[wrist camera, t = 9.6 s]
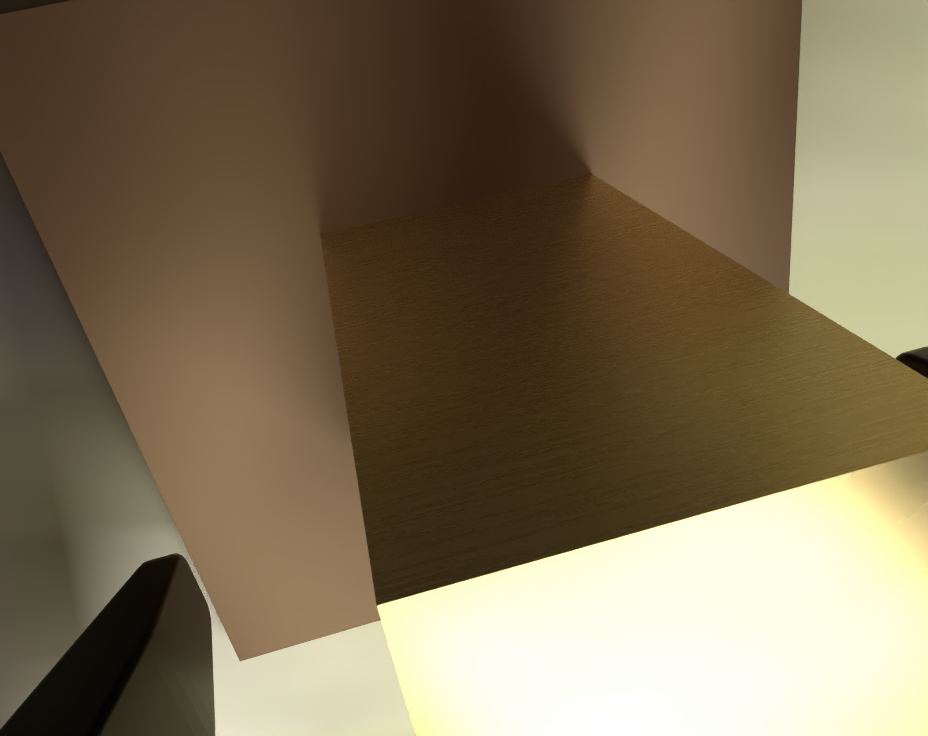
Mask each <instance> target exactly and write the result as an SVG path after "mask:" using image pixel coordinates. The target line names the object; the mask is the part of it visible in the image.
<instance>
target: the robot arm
mask: <svg viewBox="0 0 928 736" xmlns="http://www.w3.org/2000/svg"><path fill="white" fill-rule="evenodd" d="M896 360H898V361H900V362H901V363H903V364H905V365H906V366H908V367H909V368H911V369H913V370H914V371H916V372H918V373H919V374H921V375H923V376H924V377H926V378H928V347H923V348H919V349H915V350H912V351H908V352H904V353H902V354H900V355H899V356H897V357H896ZM0 736H215V711H214V684H213V656H212V629H211V617H210V612H209V608H208V605H207V602H206V600H205V598H204V596H203V594H202V592H201V589H200V587H199V585H198V583H197V581H196V579H195V577H194V575H193V573H192V571H191V569H190V566H189V564H188V562H187V561H186V559H185V558H184V557H183V556H182V555H180V554H177V553H175V554H171V555H167V556H164V557H160V558H156V559H153V560H149V561H146V562H144V563H143V564H142V565H141V566H140V567H139V568H138V569H137V570H136V571H135V572H134V574H133V575H132V576H131V577H130V578H129V579H128V581H127V582H126V583H125V584H124V585H123V586H122V588H121V589H120V590H119V591H118V592H117V593H116V595H115V596H114V597H113V598H112V599H111V601H110V602H109V603H108V604H107V605H106V606H105V608H104V609H103V610H102V611H101V612H100V613H99V615H98V616H97V617H96V618H95V619H94V620H93V622H92V623H91V624H90V625H89V626H88V627H87V629H86V630H85V631H84V632H83V633H82V634H81V636H80V637H79V638H78V639H77V640H76V641H75V643H74V644H73V645H72V646H71V647H70V648H69V650H68V651H67V652H66V653H65V654H64V655H63V657H62V658H61V659H60V660H59V661H58V662H57V664H56V665H55V666H54V667H53V668H52V669H51V671H50V672H49V673H48V674H47V675H46V676H45V678H44V679H43V680H42V681H41V682H40V683H39V685H38V686H37V687H36V688H35V689H34V690H33V692H32V693H31V694H30V695H29V696H28V697H27V699H26V700H25V701H24V702H23V703H22V705H21V706H20V707H19V708H18V709H17V710H16V712H15V713H14V714H13V715H12V716H11V717H10V719H9V720H8V721H7V722H6V723H5V724H4V726H3V727H2V728H1V729H0Z"/></svg>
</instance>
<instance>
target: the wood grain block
mask: <svg viewBox="0 0 928 736" xmlns="http://www.w3.org/2000/svg"><path fill="white" fill-rule="evenodd" d="M320 240H321V246H322V253H323V259H324V266H325V272H326V279H327V285H328V292H329V299H330V305H331V312H332V318H333V325H334V331H335V338H336V344H337V351H338V357H339V364H340V370H341V377H342V383H343V390H344V396H345V403H346V409H347V416H348V422H349V429H350V435H351V442H352V448H353V455H354V461H355V468H356V474H357V481H358V487H359V494H360V501H361V507H362V514H363V520H364V527H365V533H366V540H367V546H368V553H369V559H370V566H371V572H372V579H373V585H374V592H375V598H376V605H377V609H378V612H379V615H380V619H381V622H382V625H383V629H384V632H385V635H386V638H387V642H388V645H389V648H390V652H391V655H392V658H393V662H394V665H395V668H396V672H397V675H398V678H399V682H400V685H401V688H402V692H403V695H404V698H405V702H406V705H407V708H408V712H409V715H410V718H411V722H412V725H413V728H414V732H415V735H416V736H928V378H926V377H924V376H923V375H921V374H919V373H918V372H916V371H914V370H913V369H911V368H909V367H908V366H906V365H905V364H903V363H901V362H900V361H898V360H896V359H895V358H893V357H891V356H890V355H888V354H887V353H885V352H883V351H882V350H880V349H878V348H877V347H875V346H873V345H872V344H870V343H868V342H867V341H865V340H864V339H862V338H860V337H859V336H857V335H855V334H854V333H852V332H850V331H849V330H847V329H846V328H844V327H842V326H841V325H839V324H837V323H836V322H834V321H832V320H831V319H829V318H827V317H826V316H824V315H823V314H821V313H819V312H818V311H816V310H814V309H813V308H811V307H809V306H808V305H806V304H804V303H803V302H801V301H800V300H798V299H796V298H795V297H793V296H791V295H790V294H788V293H786V292H785V291H783V290H782V289H780V288H778V287H777V286H775V285H773V284H772V283H770V282H768V281H767V280H765V279H763V278H762V277H760V276H759V275H757V274H755V273H754V272H752V271H750V270H749V269H747V268H745V267H744V266H742V265H740V264H739V263H737V262H736V261H734V260H732V259H731V258H729V257H727V256H726V255H724V254H722V253H721V252H719V251H718V250H716V249H714V248H713V247H711V246H709V245H708V244H706V243H704V242H703V241H701V240H699V239H698V238H696V237H695V236H693V235H691V234H690V233H688V232H686V231H685V230H683V229H681V228H680V227H678V226H676V225H675V224H673V223H672V222H670V221H668V220H667V219H665V218H663V217H662V216H660V215H658V214H657V213H655V212H654V211H652V210H650V209H649V208H647V207H645V206H644V205H642V204H640V203H639V202H637V201H635V200H634V199H632V198H631V197H629V196H627V195H626V194H624V193H622V192H621V191H619V190H617V189H616V188H614V187H613V186H611V185H609V184H608V183H606V182H604V181H603V180H601V179H599V178H598V177H596V176H594V175H593V174H591V175H586V176H581V177H577V178H572V179H568V180H563V181H559V182H554V183H550V184H545V185H541V186H536V187H532V188H527V189H523V190H518V191H514V192H509V193H505V194H500V195H496V196H491V197H486V198H482V199H477V200H473V201H468V202H464V203H459V204H455V205H450V206H446V207H441V208H437V209H432V210H428V211H423V212H419V213H414V214H410V215H405V216H401V217H396V218H391V219H387V220H382V221H378V222H373V223H369V224H364V225H360V226H355V227H351V228H346V229H342V230H337V231H333V232H328V233H324V234H320Z"/></svg>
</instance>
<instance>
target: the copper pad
mask: <svg viewBox="0 0 928 736" xmlns="http://www.w3.org/2000/svg"><path fill="white" fill-rule="evenodd" d="M801 12H802V0H71V1H66V2H61V3H55V4H50V5H45V6H40V7H35V8H30V9H24V10H19V11H14V12H9V13H4V14H0V152H1V154H2V156H3V158H4V161H5V163H6V165H7V167H8V169H9V171H10V173H11V175H12V178H13V180H14V182H15V184H16V186H17V188H18V190H19V192H20V195H21V197H22V199H23V201H24V203H25V205H26V207H27V210H28V212H29V214H30V216H31V218H32V220H33V222H34V224H35V227H36V229H37V231H38V233H39V235H40V237H41V239H42V241H43V244H44V246H45V248H46V250H47V252H48V254H49V256H50V258H51V261H52V263H53V265H54V267H55V269H56V271H57V273H58V275H59V278H60V280H61V282H62V284H63V286H64V288H65V290H66V292H67V295H68V297H69V299H70V301H71V303H72V305H73V307H74V309H75V312H76V314H77V316H78V318H79V320H80V322H81V324H82V326H83V329H84V331H85V333H86V335H87V337H88V339H89V341H90V343H91V346H92V348H93V350H94V352H95V354H96V356H97V358H98V360H99V363H100V365H101V367H102V369H103V371H104V373H105V375H106V377H107V380H108V382H109V384H110V386H111V388H112V390H113V392H114V394H115V397H116V399H117V401H118V403H119V405H120V407H121V409H122V412H123V414H124V416H125V418H126V420H127V422H128V424H129V426H130V429H131V431H132V433H133V435H134V437H135V439H136V441H137V443H138V446H139V448H140V450H141V452H142V454H143V456H144V458H145V460H146V463H147V465H148V467H149V469H150V471H151V473H152V475H153V477H154V480H155V482H156V484H157V486H158V488H159V490H160V492H161V494H162V497H163V499H164V501H165V503H166V505H167V507H168V509H169V511H170V514H171V516H172V518H173V520H174V522H175V524H176V526H177V528H178V531H179V533H180V535H181V537H182V539H183V541H184V543H185V545H186V548H187V550H188V552H189V554H190V556H191V558H192V560H193V562H194V565H195V567H196V569H197V571H198V573H199V575H200V577H201V579H202V582H203V584H204V586H205V588H206V590H207V592H208V594H209V596H210V599H211V601H212V603H213V605H214V607H215V609H216V611H217V613H218V616H219V618H220V620H221V622H222V624H223V626H224V628H225V631H226V633H227V635H228V637H229V639H230V641H231V643H232V645H233V648H234V650H235V652H236V654H237V656H238V658H239V660H240V661H242V660H246V659H249V658H253V657H256V656H260V655H263V654H266V653H270V652H273V651H277V650H280V649H283V648H287V647H290V646H294V645H297V644H300V643H304V642H307V641H311V640H314V639H317V638H321V637H324V636H328V635H331V634H334V633H338V632H341V631H345V630H348V629H351V628H355V627H358V626H362V625H365V624H368V623H372V622H375V621H379V620H381V619H380V615H379V612H378V609H377V605H376V598H375V592H374V585H373V579H372V572H371V566H370V559H369V553H368V546H367V540H366V533H365V527H364V520H363V514H362V507H361V501H360V494H359V487H358V481H357V474H356V468H355V461H354V455H353V448H352V442H351V435H350V429H349V422H348V416H347V409H346V403H345V396H344V390H343V383H342V377H341V370H340V364H339V357H338V351H337V344H336V338H335V331H334V325H333V318H332V312H331V305H330V299H329V292H328V285H327V279H326V272H325V266H324V259H323V253H322V246H321V240H320V234H324V233H328V232H333V231H337V230H342V229H346V228H351V227H355V226H360V225H364V224H369V223H373V222H378V221H382V220H387V219H391V218H396V217H401V216H405V215H410V214H414V213H419V212H423V211H428V210H432V209H437V208H441V207H446V206H450V205H455V204H459V203H464V202H468V201H473V200H477V199H482V198H486V197H491V196H496V195H500V194H505V193H509V192H514V191H518V190H523V189H527V188H532V187H536V186H541V185H545V184H550V183H554V182H559V181H563V180H568V179H572V178H577V177H581V176H586V175H591V174H593V175H594V176H596V177H598V178H599V179H601V180H603V181H604V182H606V183H608V184H609V185H611V186H613V187H614V188H616V189H617V190H619V191H621V192H622V193H624V194H626V195H627V196H629V197H631V198H632V199H634V200H635V201H637V202H639V203H640V204H642V205H644V206H645V207H647V208H649V209H650V210H652V211H654V212H655V213H657V214H658V215H660V216H662V217H663V218H665V219H667V220H668V221H670V222H672V223H673V224H675V225H676V226H678V227H680V228H681V229H683V230H685V231H686V232H688V233H690V234H691V235H693V236H695V237H696V238H698V239H699V240H701V241H703V242H704V243H706V244H708V245H709V246H711V247H713V248H714V249H716V250H718V251H719V252H721V253H722V254H724V255H726V256H727V257H729V258H731V259H732V260H734V261H736V262H737V263H739V264H740V265H742V266H744V267H745V268H747V269H749V270H750V271H752V272H754V273H755V274H757V275H759V276H760V277H762V278H763V279H765V280H767V281H768V282H770V283H772V284H773V285H775V286H777V287H778V288H780V289H782V290H783V291H785V292H786V293H788V294H789V275H790V253H791V231H792V209H793V187H794V165H795V143H796V121H797V99H798V78H799V56H800V34H801Z"/></svg>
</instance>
